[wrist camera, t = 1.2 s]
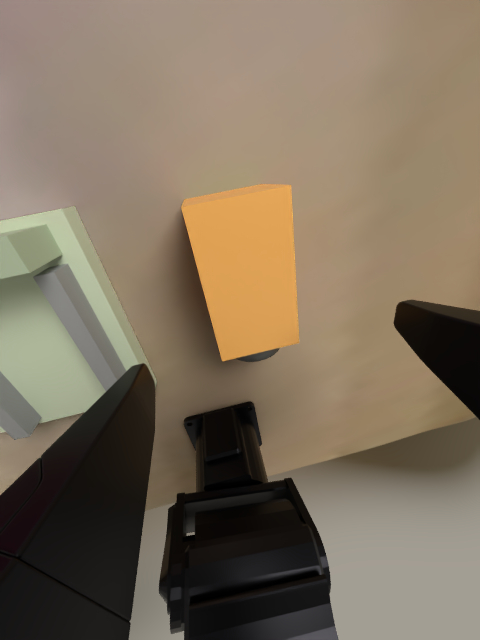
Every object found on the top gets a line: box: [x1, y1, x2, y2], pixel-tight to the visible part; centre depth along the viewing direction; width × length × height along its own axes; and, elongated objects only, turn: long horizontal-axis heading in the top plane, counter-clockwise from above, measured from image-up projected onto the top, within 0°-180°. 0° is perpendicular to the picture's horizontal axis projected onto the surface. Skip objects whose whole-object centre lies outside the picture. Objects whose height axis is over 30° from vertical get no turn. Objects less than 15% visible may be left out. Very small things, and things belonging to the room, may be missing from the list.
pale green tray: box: [0, 206, 157, 440], centre depth 14 cm, size 13×12×4 cm
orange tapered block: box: [181, 184, 299, 362], centre depth 14 cm, size 9×4×5 cm, turn 10°
